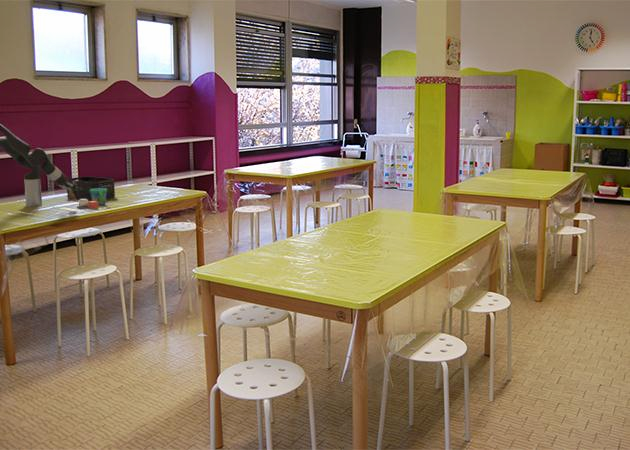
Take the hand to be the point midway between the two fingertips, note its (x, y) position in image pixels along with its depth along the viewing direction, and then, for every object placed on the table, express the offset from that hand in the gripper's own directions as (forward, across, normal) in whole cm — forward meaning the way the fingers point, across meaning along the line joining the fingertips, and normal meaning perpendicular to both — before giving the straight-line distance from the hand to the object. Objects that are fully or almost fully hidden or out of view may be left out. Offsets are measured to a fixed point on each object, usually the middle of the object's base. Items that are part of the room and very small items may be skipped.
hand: (74, 193), depth 407 cm
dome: (+11, -3, 0) cm, 12 cm away
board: (+10, -3, -5) cm, 12 cm away
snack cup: (+24, -7, +9) cm, 26 cm away
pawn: (+1, 0, -4) cm, 5 cm away
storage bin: (+34, -34, +19) cm, 52 cm away
